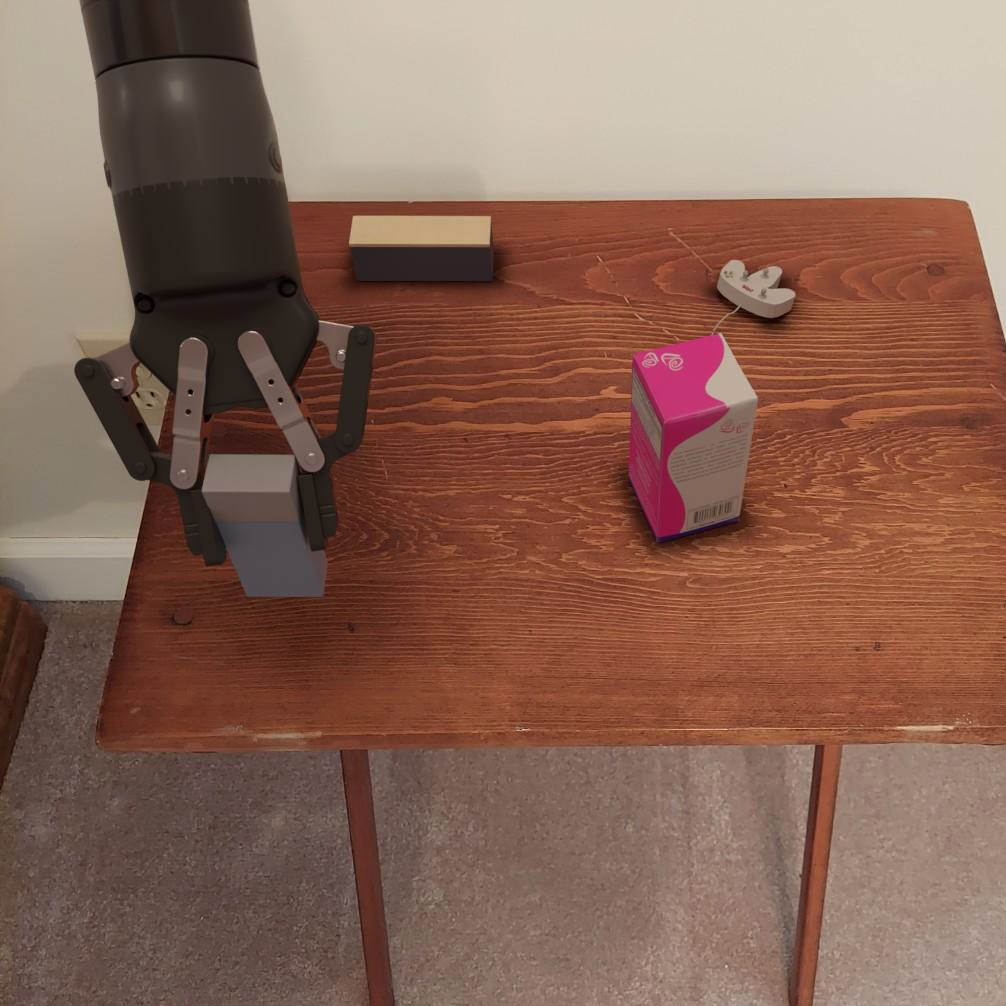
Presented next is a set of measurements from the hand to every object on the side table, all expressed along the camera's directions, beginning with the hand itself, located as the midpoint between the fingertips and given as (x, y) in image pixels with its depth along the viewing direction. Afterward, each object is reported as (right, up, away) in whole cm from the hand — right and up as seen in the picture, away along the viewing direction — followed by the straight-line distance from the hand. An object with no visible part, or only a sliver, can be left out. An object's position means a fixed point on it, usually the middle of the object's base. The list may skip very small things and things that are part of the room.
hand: (267, 554), depth 57 cm
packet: (0, -1, +5) cm, 5 cm away
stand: (+3, +23, +31) cm, 38 cm away
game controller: (+25, +18, +28) cm, 42 cm away
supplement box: (+21, +4, +20) cm, 29 cm away
